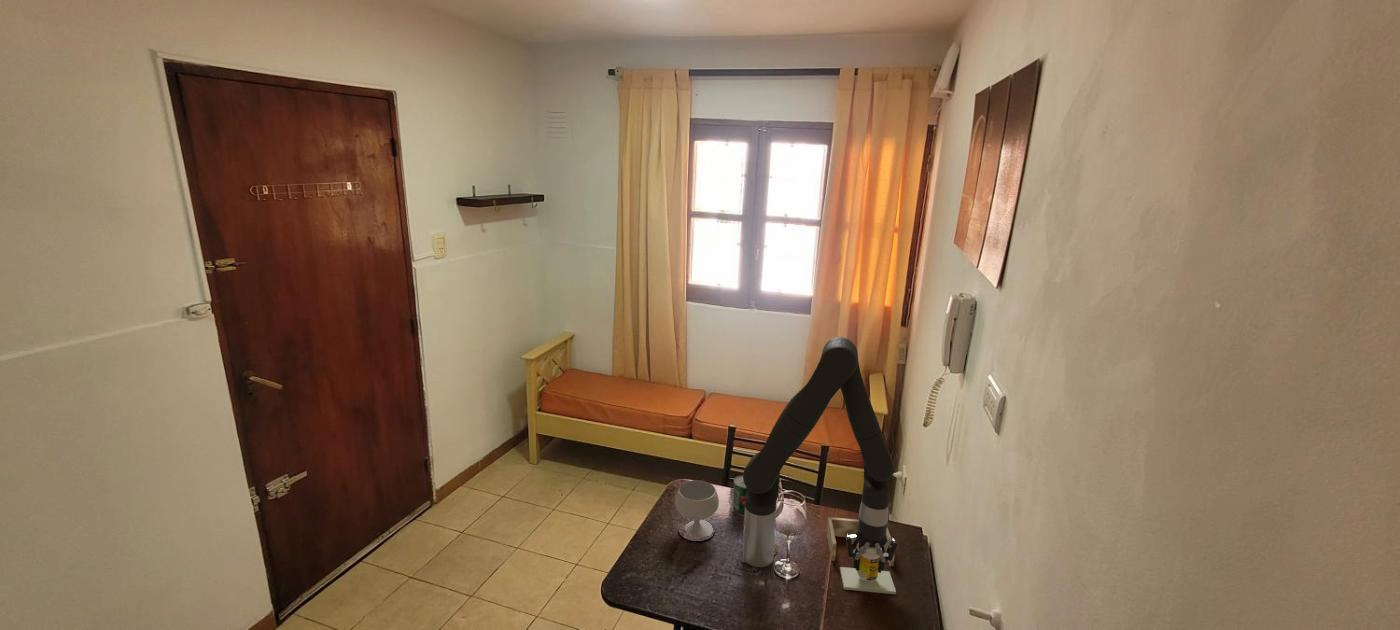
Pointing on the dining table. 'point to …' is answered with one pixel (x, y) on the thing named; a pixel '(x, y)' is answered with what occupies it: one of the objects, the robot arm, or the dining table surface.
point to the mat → (856, 583)
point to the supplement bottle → (869, 564)
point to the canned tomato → (739, 495)
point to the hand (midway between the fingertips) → (867, 569)
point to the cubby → (841, 528)
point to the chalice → (697, 506)
